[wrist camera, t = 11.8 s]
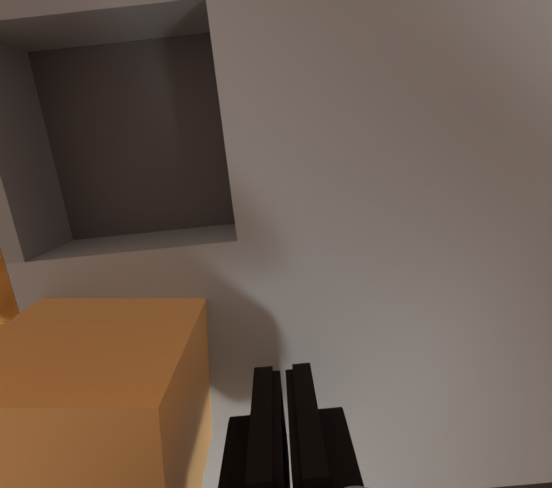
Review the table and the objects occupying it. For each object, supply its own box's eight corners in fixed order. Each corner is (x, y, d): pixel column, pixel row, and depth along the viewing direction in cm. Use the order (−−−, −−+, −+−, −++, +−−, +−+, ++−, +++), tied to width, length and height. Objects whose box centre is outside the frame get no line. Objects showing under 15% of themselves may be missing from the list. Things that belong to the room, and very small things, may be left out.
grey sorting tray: (555, 539, 18) (645, 665, 14) (144, 575, 18) (104, 708, 14) (619, -31, 12) (816, -134, 8) (8, 36, 12) (-136, -26, 8)
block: (212, 434, 13) (174, 611, 8) (64, 435, 13) (-64, 612, 8) (206, 298, 11) (157, 407, 7) (43, 298, 11) (-126, 408, 7)
